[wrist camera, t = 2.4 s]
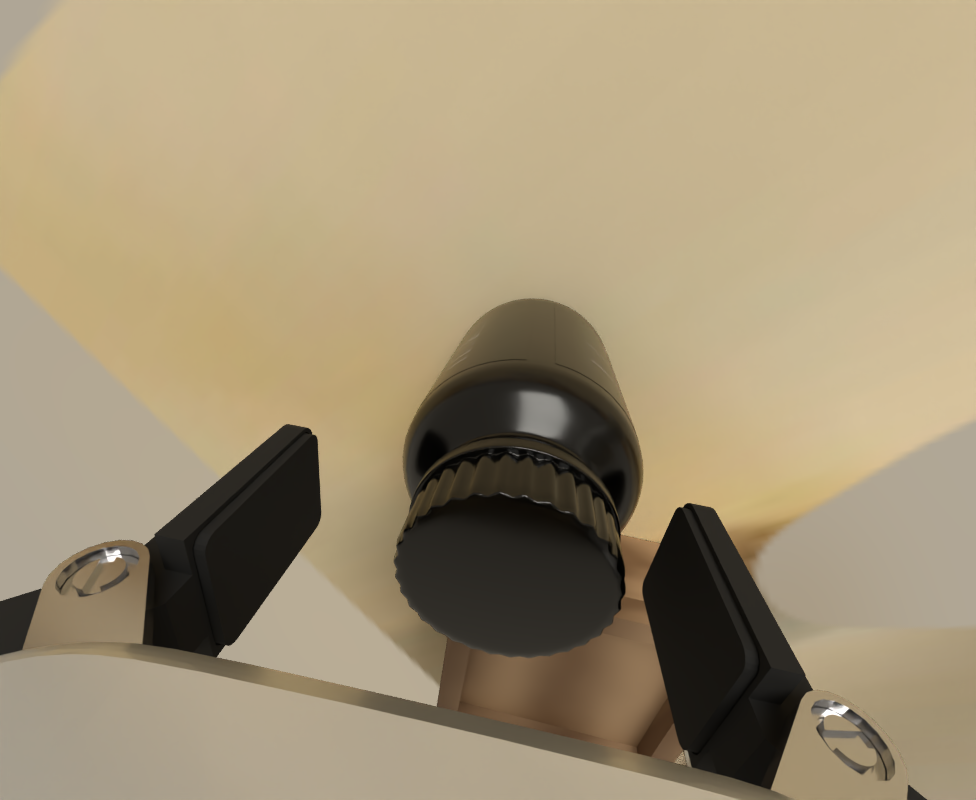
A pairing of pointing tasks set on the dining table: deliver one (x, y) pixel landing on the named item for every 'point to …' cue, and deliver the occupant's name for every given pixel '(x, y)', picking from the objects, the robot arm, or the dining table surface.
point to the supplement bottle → (520, 486)
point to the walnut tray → (578, 680)
